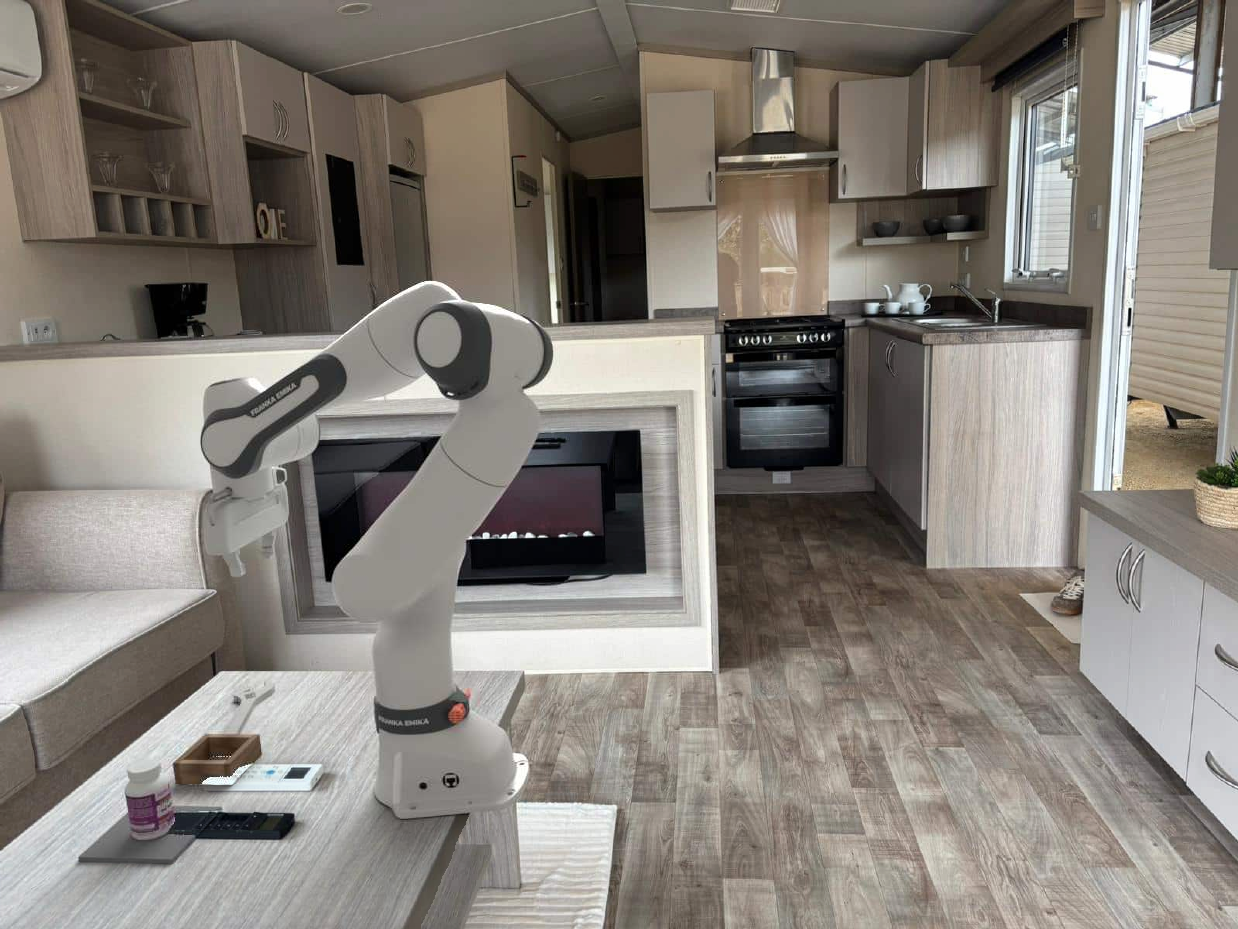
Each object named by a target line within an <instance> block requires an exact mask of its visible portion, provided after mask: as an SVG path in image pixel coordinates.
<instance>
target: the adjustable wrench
mask: <svg viewBox="0 0 1238 929" xmlns="http://www.w3.org/2000/svg"><path fill="white" fill-rule="evenodd" d="M263 683H264V684H263V685H264V686H262V687H260V688H257V689H253V690H251V689H250V686H249V684H245V685H243V686H241V687H240V688H238V690H237V691H236V693H235V694H233V695H232V697H233V702H234V703H239V706H238V707H237V708H236V710H235V712H234V714H233V715H232V716H231V718H230V720H229V721H228V722H227V724H226V726H225V727H224V729H223V730H222V732H221V734H242V731H243V729H244V727H245V725H246V724H247V722H248V720H249V718H251V715H252V713H253V712H254V709H255V708H256V707H257V706H258V705H259V704H260V703H261V702H264V701H265V700H266V699H268V698H270V697H271V696H272V695H273V694H275V692H276V686H275V683H274V682H273V681H272V680H263Z"/></svg>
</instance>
